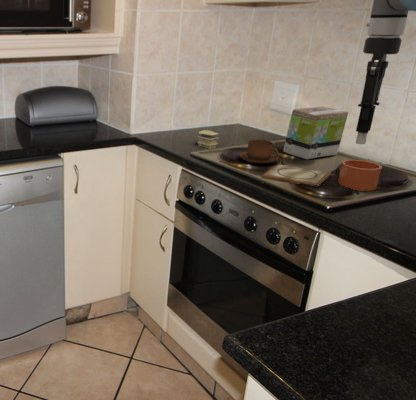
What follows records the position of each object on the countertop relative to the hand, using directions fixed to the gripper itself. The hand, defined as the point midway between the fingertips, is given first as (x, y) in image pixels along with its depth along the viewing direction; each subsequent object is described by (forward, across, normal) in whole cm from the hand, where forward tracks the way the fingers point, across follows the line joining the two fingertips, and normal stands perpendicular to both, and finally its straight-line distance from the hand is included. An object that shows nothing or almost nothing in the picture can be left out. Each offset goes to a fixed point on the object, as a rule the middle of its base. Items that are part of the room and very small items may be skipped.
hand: (363, 130), depth 126 cm
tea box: (+15, -27, -17) cm, 35 cm away
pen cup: (+15, 0, +1) cm, 15 cm away
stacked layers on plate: (+15, -14, -48) cm, 52 cm away
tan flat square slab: (+15, +2, -14) cm, 20 cm away
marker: (+3, 0, 0) cm, 3 cm away
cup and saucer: (+15, -8, -28) cm, 32 cm away
